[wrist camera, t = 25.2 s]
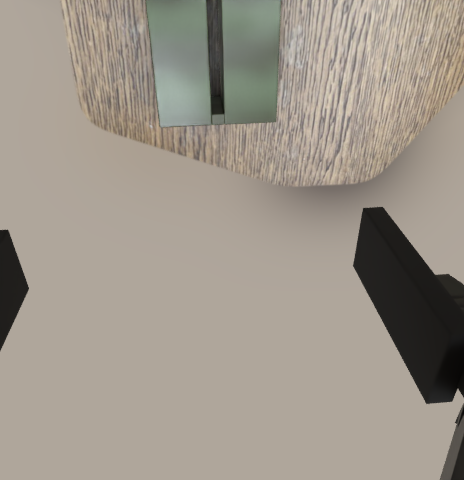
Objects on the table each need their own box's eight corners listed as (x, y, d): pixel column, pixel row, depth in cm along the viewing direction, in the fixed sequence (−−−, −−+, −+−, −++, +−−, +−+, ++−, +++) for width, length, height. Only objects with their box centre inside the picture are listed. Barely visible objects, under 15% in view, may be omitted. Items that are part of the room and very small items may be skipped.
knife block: (266, 103, 46) (276, 122, 41) (162, 108, 45) (159, 127, 40) (269, -32, 39) (282, -29, 34) (148, -29, 38) (142, -26, 33)
